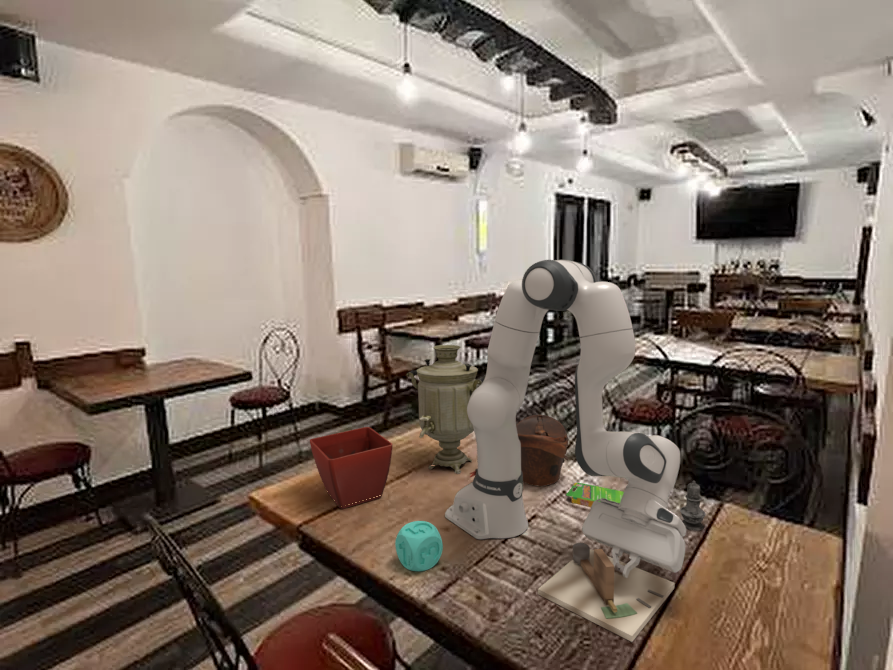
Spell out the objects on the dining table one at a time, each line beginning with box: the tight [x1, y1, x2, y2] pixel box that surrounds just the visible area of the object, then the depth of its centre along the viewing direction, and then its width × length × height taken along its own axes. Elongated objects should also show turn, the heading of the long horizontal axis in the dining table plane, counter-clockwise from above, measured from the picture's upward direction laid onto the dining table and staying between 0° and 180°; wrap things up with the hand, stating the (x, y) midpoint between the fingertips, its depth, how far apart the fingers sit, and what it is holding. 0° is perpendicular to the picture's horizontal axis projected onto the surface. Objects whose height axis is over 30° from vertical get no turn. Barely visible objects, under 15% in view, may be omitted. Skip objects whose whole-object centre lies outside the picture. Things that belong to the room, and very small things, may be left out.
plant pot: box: [309, 426, 394, 510], centre depth 152 cm, size 19×19×17 cm
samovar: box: [406, 344, 486, 475], centre depth 169 cm, size 30×26×40 cm
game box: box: [565, 482, 624, 508], centre depth 144 cm, size 3×10×20 cm
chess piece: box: [679, 480, 707, 531], centre depth 130 cm, size 6×6×12 cm
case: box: [516, 414, 569, 487], centre depth 160 cm, size 18×20×18 cm
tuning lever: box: [572, 542, 617, 612], centre depth 106 cm, size 19×4×8 cm, turn 6°
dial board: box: [537, 548, 676, 643], centre depth 107 cm, size 20×20×1 cm
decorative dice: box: [394, 520, 444, 572], centre depth 119 cm, size 8×8×8 cm
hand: (619, 574), depth 103 cm, fingers closed
